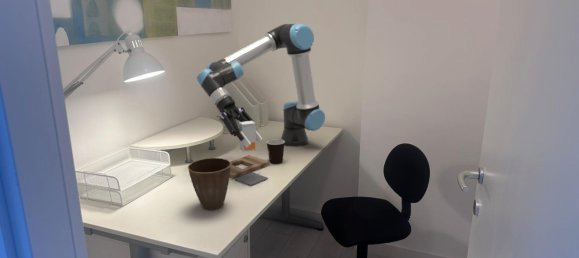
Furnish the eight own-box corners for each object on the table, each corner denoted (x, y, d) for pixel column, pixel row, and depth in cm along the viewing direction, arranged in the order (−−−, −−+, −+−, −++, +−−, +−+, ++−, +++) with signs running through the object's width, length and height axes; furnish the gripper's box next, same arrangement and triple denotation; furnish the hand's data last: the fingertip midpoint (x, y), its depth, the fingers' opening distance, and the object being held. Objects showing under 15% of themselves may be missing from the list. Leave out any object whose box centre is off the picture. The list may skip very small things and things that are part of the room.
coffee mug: (282, 165, 180) (282, 145, 177) (265, 164, 182) (264, 144, 179) (287, 157, 191) (287, 137, 188) (271, 156, 192) (270, 137, 190)
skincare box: (243, 152, 158) (241, 124, 155) (239, 149, 162) (238, 122, 158) (256, 150, 160) (255, 122, 157) (253, 147, 164) (252, 120, 161)
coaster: (252, 173, 171) (252, 172, 170) (268, 179, 164) (268, 177, 164) (235, 180, 163) (234, 178, 163) (250, 186, 157) (250, 184, 157)
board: (249, 158, 189) (249, 155, 188) (269, 165, 180) (269, 161, 179) (213, 171, 173) (213, 167, 173) (233, 179, 164) (233, 175, 164)
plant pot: (195, 218, 131) (191, 175, 127) (188, 201, 144) (184, 161, 140) (237, 210, 137) (235, 168, 133) (227, 194, 150) (224, 155, 146)
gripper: (234, 102, 173) (263, 142, 168) (201, 110, 156) (234, 155, 152) (242, 91, 168) (273, 132, 164) (210, 99, 152) (243, 144, 148)
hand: (254, 143), depth 158 cm, fingers closed on skincare box, 7 cm apart
